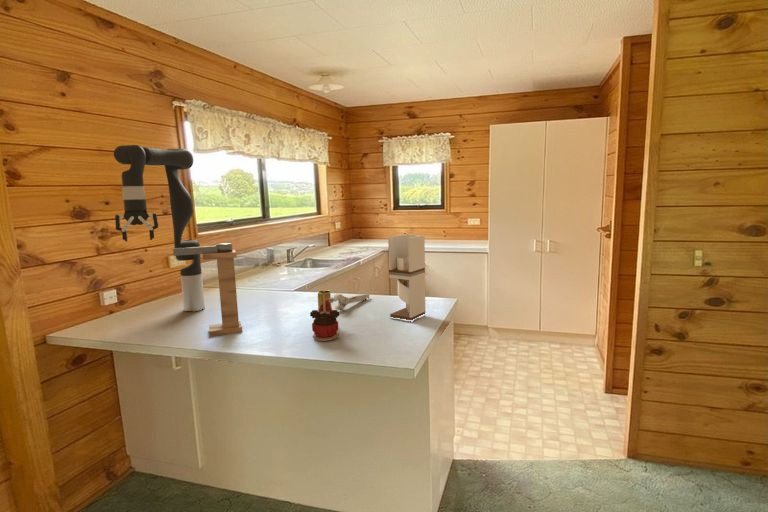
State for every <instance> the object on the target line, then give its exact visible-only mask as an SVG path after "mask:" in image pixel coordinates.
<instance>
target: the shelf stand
mask: <svg viewBox="0 0 768 512" xmlns="http://www.w3.org/2000/svg"><path fill="white" fill-rule="evenodd" d="M235 258H237V251H236V249H233V251H232V252H226V253H206V254H202V260H203V261H208V260H216V265H217V277H218V289H219V291H218V292H219V301H220V303H219V304H220V311H221V313H220V314H221V323H217V324H216V323H214V324H209V325H208V328H209V329H208V331H209V337H216V336H217V337H218V336H223V335H225V336H226V335H230V334H236V333H237V334H238V333H243V326H242V323H241V321H239V308H238V295H237V284H236V270H235V261H234V260H235Z"/></svg>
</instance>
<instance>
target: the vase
mask: <svg viewBox="0 0 768 512" xmlns="http://www.w3.org/2000/svg"><path fill="white" fill-rule="evenodd" d="M323 291H325V300H327V299H330V298H332V297H331V290H327V289H325V290H324V289H323V290H319V291H317V310H318V311H319V308H320V306H321V304H322V303H323ZM330 306H331V308H332V303H330ZM332 309H333V308H332Z"/></svg>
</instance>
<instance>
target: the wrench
mask: <svg viewBox="0 0 768 512" xmlns="http://www.w3.org/2000/svg"><path fill="white" fill-rule="evenodd" d="M333 298H334V303H335V302H338V303H337V305H336V306H335V307H334V308H335V309H334V310H337V311H341V310H343V311H344V309H345V308H346V306H348V305H350V304H353V303H358V302H363V300H364V301H366V300H365V299H367V298H369V299H370V294H369V293H362V294H356V295H354V296H349V297H346V296H345V295H343V294H342V293H337V294H334V296H333Z"/></svg>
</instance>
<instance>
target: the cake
mask: <svg viewBox="0 0 768 512" xmlns="http://www.w3.org/2000/svg"><path fill="white" fill-rule="evenodd" d="M330 303H331V304H333V303H335V301H334V296H333V297H331V298H330V299H327V300H325V291H323V303H322V304H321V306H320V308H319V311H318V309H312V311H310V313H309V315H310V317H311V318H312V319H313V322H312V323H311V328H312V331H313V335H312V338H313V339H314V340H316V341H320V342H325V341H327V340H328V341H332V340H335V339H336V338H338V337H339V333H338V330H339V321H338V320H337V319H338V318H339V316H340V311H339V310H337V309H333V308H331V306H332V305H331V306H330Z"/></svg>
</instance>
